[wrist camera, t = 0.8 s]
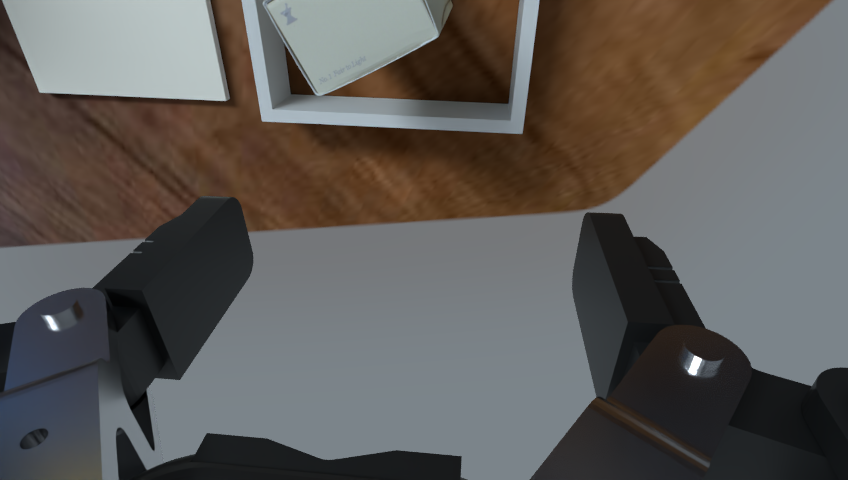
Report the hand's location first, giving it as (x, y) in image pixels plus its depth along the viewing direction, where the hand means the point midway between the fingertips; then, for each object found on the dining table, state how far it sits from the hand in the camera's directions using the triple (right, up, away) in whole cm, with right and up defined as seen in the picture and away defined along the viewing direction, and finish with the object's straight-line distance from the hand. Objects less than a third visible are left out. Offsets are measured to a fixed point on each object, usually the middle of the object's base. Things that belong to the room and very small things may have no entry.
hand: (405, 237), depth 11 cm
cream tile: (-20, +16, +20) cm, 33 cm away
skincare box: (-1, +15, +18) cm, 24 cm away
